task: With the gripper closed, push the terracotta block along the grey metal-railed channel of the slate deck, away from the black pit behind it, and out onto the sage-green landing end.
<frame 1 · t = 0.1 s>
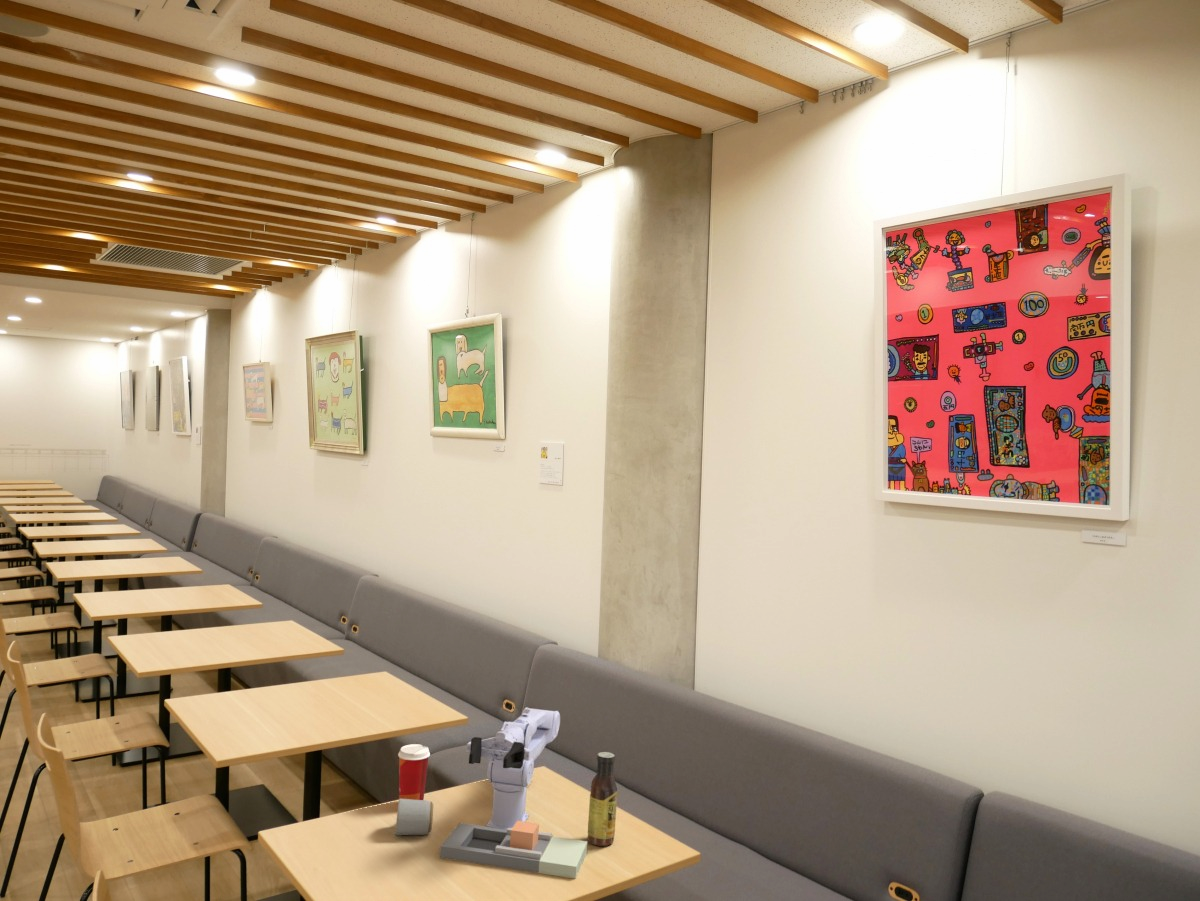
hand: (487, 761, 187), 22 cm above the table, tool horizontal, fingers open, 7 cm apart
sauce bottle: (600, 841, 200), on the table
tunnel deck: (514, 855, 191), on the table
terracotta block: (523, 845, 190), point 2 cm above the table, touching tunnel deck
grey rounded cube: (412, 831, 199), on the table
paper cup: (410, 806, 212), on the table
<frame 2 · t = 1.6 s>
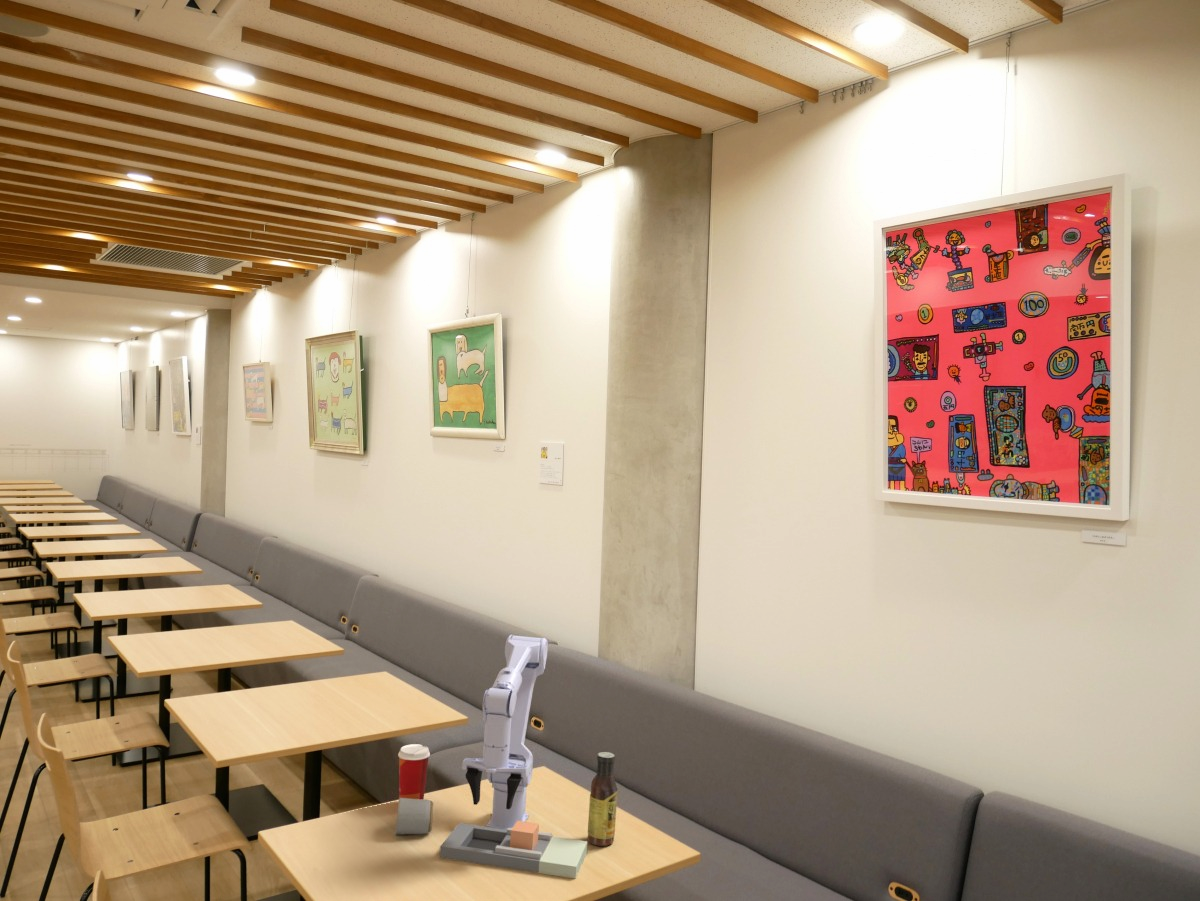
hand: (492, 805, 191), 10 cm above the table, tool pointing down, fingers open, 7 cm apart
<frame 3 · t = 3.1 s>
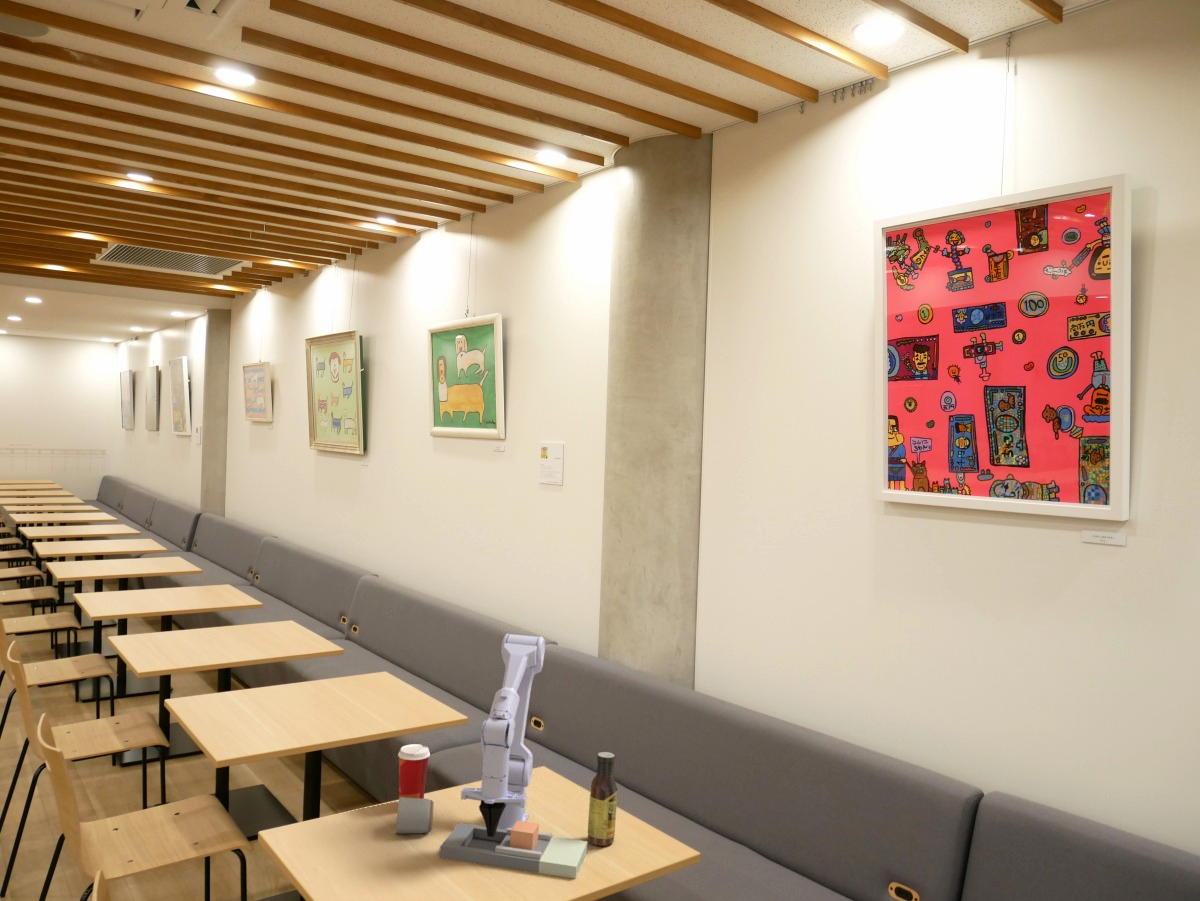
hand: (491, 834, 192), 4 cm above the table, tool pointing down, fingers closed
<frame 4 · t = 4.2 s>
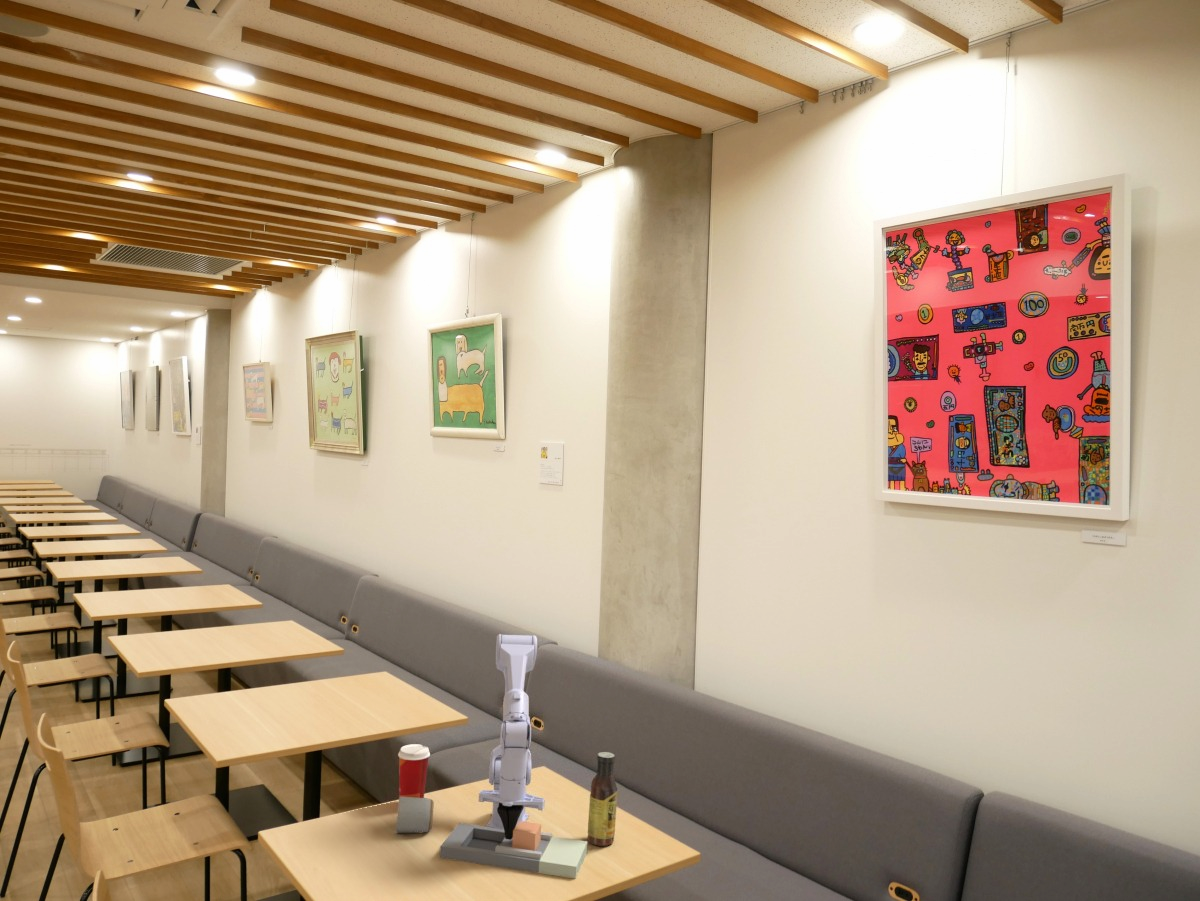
hand: (509, 837, 191), 4 cm above the table, tool pointing down, fingers closed
terracotta block: (526, 845, 190), point 3 cm above the table, touching gripper
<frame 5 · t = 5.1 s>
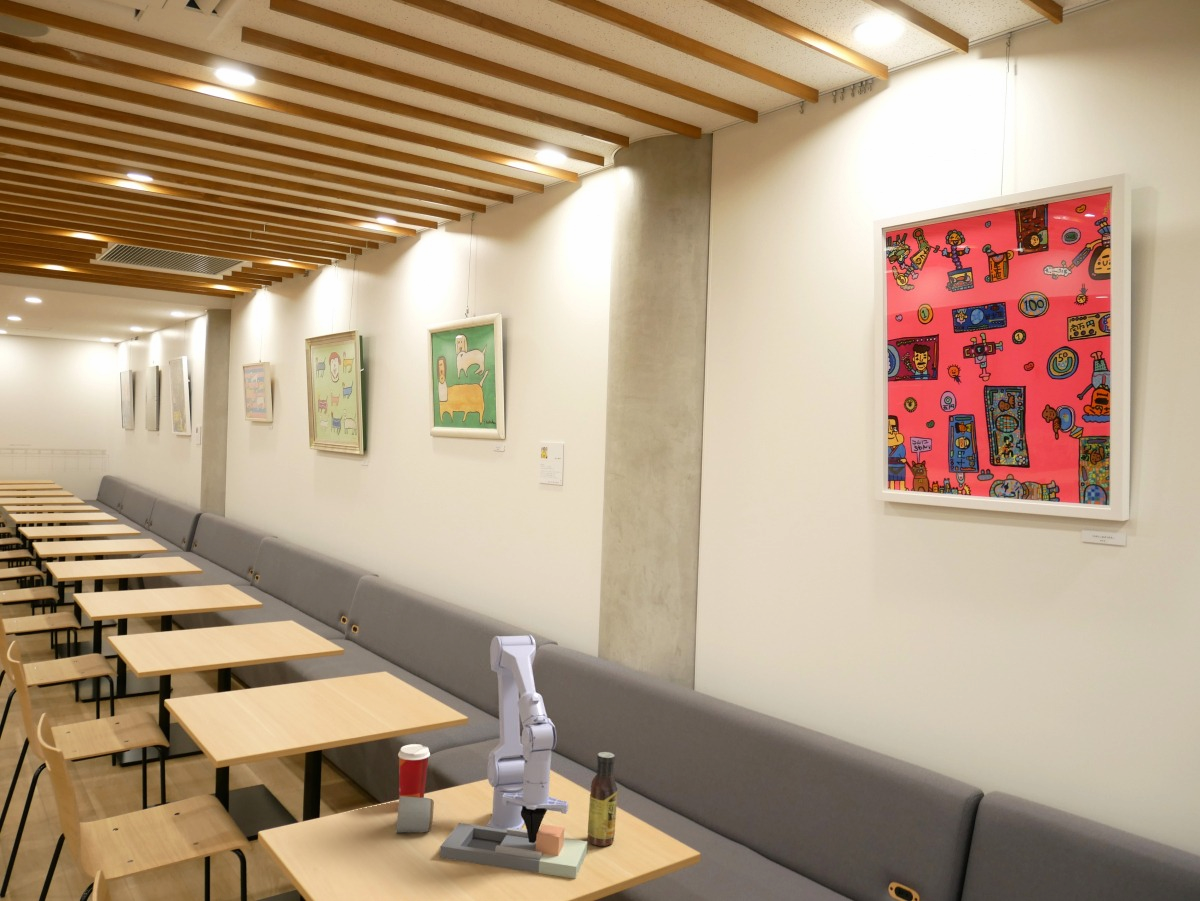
hand: (532, 840, 190), 4 cm above the table, tool pointing down, fingers closed
terracotta block: (549, 848, 189), point 3 cm above the table, touching gripper
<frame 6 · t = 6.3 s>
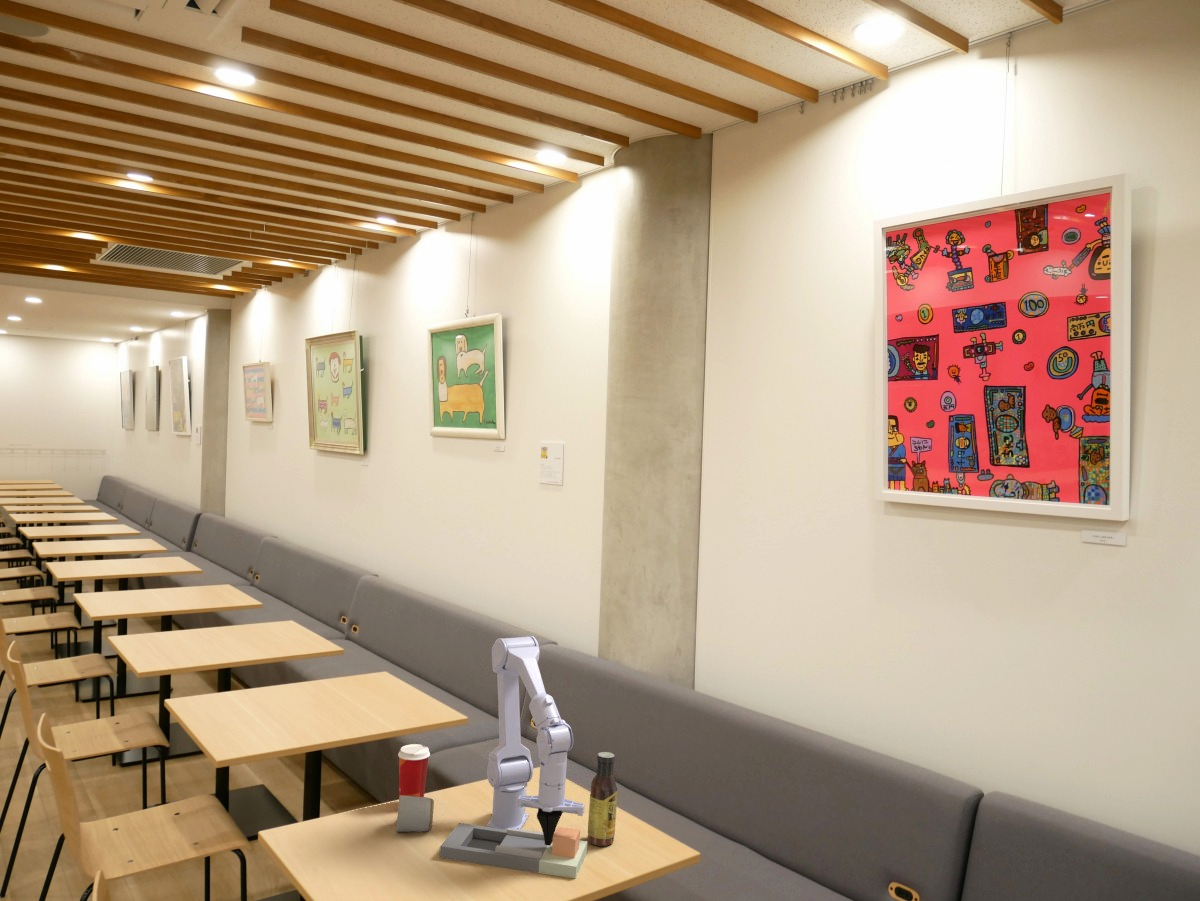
hand: (548, 843, 189), 4 cm above the table, tool pointing down, fingers closed
terracotta block: (565, 851, 189), point 2 cm above the table, touching gripper, tunnel deck
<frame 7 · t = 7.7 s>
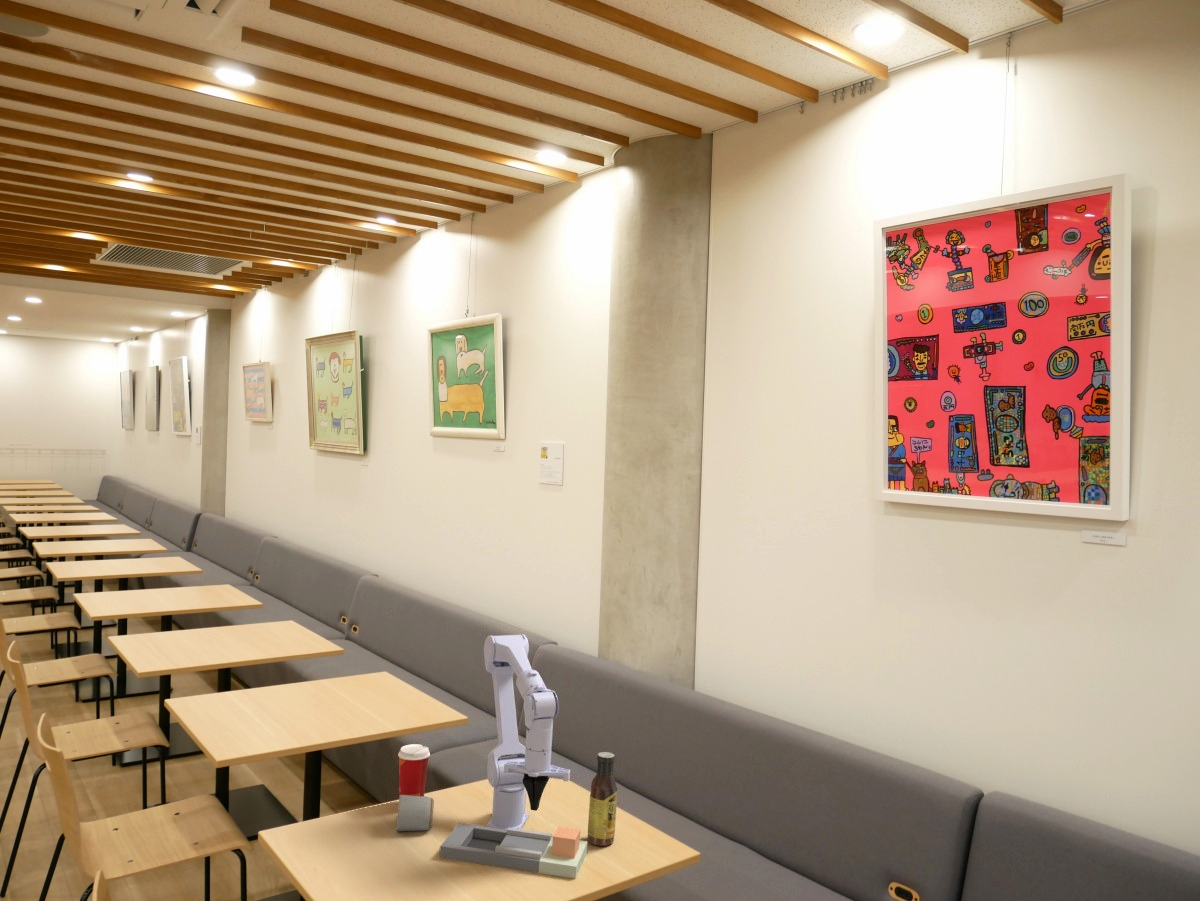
hand: (534, 808, 191), 10 cm above the table, tool pointing down, fingers closed
terracotta block: (565, 851, 189), point 2 cm above the table, touching tunnel deck
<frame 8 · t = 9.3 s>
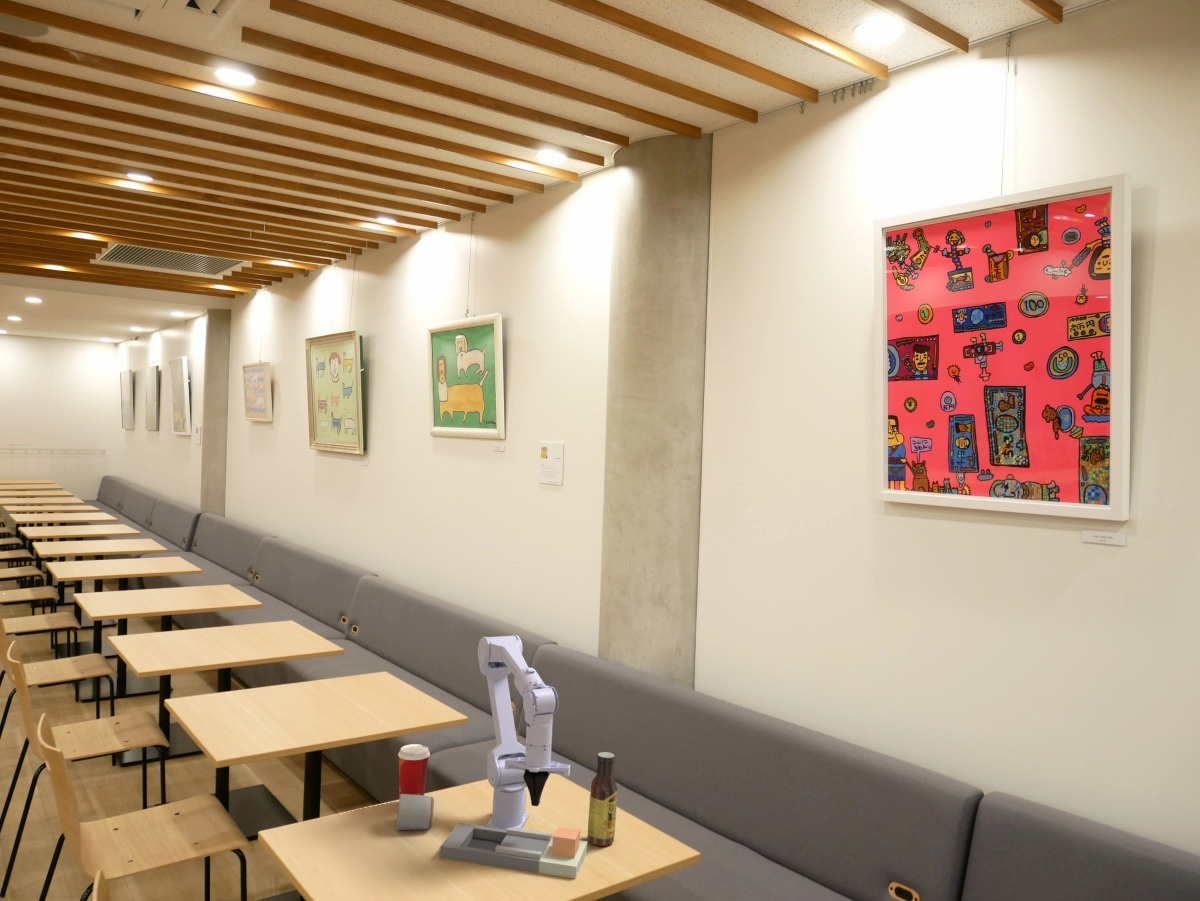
hand: (535, 804, 193), 10 cm above the table, tool pointing down, fingers closed
at the end: terracotta block inside the target area (0.1 cm from its centre), point 2.5 cm above the table; terracotta block tilted 0° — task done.
